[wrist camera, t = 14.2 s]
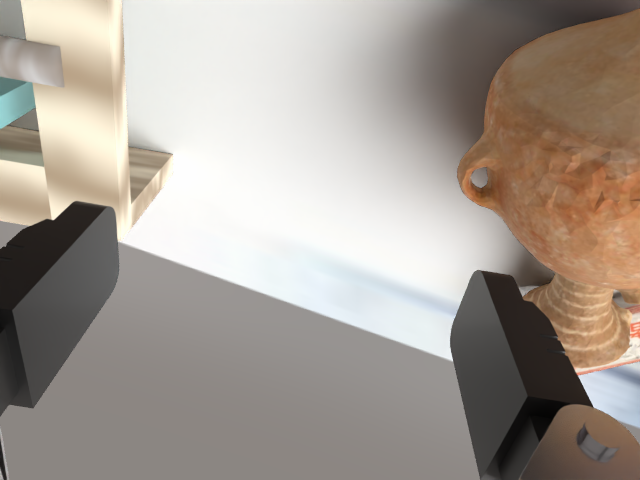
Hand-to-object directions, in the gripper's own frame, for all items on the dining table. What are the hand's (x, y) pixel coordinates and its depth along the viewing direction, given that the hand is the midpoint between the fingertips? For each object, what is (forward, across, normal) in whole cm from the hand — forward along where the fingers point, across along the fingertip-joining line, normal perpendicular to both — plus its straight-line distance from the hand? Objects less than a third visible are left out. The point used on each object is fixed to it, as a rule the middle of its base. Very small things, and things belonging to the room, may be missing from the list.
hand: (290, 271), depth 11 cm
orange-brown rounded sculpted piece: (+33, -22, +8) cm, 41 cm away
